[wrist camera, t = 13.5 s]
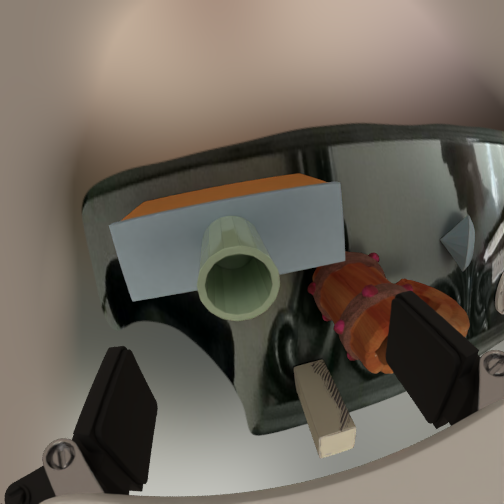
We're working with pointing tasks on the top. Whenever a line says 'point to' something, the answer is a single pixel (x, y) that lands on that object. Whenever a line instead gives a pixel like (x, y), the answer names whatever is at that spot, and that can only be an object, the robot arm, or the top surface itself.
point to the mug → (371, 306)
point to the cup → (236, 270)
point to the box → (324, 409)
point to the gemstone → (461, 242)
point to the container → (229, 204)
